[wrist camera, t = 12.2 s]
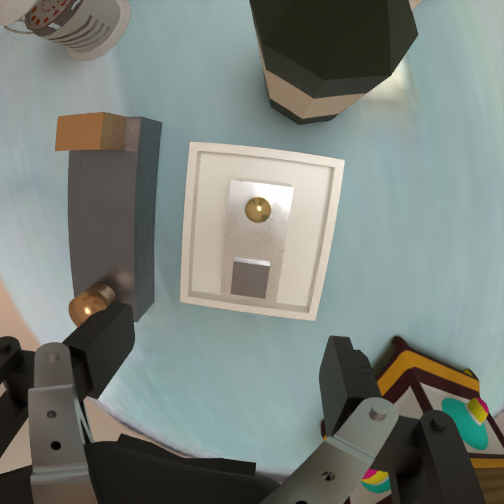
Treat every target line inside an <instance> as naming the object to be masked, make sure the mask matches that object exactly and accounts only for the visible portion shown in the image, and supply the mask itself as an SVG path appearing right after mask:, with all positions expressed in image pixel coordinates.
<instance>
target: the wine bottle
mask: <svg viewBox="0 0 504 504" xmlns="http://www.w3.org/2000/svg"><path fill="white" fill-rule="evenodd" d="M249 1H250V6H251V11H252V16H253V20H254V25H255V30H256V35H257V40H258V46H259V51H260V56H261V62H262V67H263V72H264V78H265V82H266V86H267V91H268V95H269V99H270V104H271V107H272V108H274V109H275V110H277V111H279V112H280V113H282V114H283V115H285V116H286V117H288V118H290V119H291V120H293V121H294V122H296V123H297V124H299V125H301V124H307V123H314V122H321V121H328V120H332V119H333V118H335V117H336V116H337V115H338V114H340V113H341V112H342V111H344V110H345V109H346V108H348V107H349V106H350V105H352V104H353V103H354V102H356V101H357V100H358V99H360V98H361V97H362V96H364V95H365V94H366V93H368V92H369V91H370V90H372V89H373V88H374V87H376V86H377V85H379V84H380V83H381V82H383V81H384V80H386V79H387V78H388V77H390V76H391V75H392V73H393V72H394V70H395V69H396V67H397V66H398V64H399V63H400V61H401V60H402V58H403V57H404V55H405V54H406V52H407V51H408V49H409V48H410V46H411V45H412V43H413V42H414V40H415V39H416V37H417V36H418V32H417V28H416V24H415V20H414V17H413V13H412V10H411V6H410V3H409V0H249Z"/></svg>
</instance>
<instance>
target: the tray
mask: <svg viewBox="0 0 504 504" xmlns="http://www.w3.org/2000/svg"><path fill="white" fill-rule="evenodd" d="M344 162H345V160H341V159H335V158H330V157H324V156H318V155H311V154H305V153H298V152H291V151H284V150H276V149H268V148H259V147H250V146H240V145H230V144H218V143H204V142H190V147H189V156H188V167H187V178H186V191H185V204H184V219H183V237H182V258H181V290H180V302H184V303H190V304H196V305H202V306H208V307H214V308H221V309H227V310H234V311H241V312H248V313H255V314H262V315H270V316H277V317H285V318H294V319H302V320H311V321H315V320H316V316H317V311H318V307H319V302H320V298H321V293H322V289H323V284H324V279H325V274H326V270H327V265H328V259H329V254H330V249H331V244H332V238H333V233H334V227H335V221H336V215H337V209H338V203H339V197H340V190H341V184H342V177H343V170H344ZM237 177H240V178H249V179H257V180H265V181H273V182H281V183H288V184H291V185H292V187H293V193H292V200H291V207H290V214H289V221H288V228H287V235H286V242H285V249H284V255H283V262H282V268H281V275H280V281H279V287H278V294H277V300H276V302H268V301H261V300H253V299H246V298H239V297H232V296H226V295H220V287H221V275H222V263H223V252H224V241H225V230H226V219H227V209H228V199H229V190H230V180H232V179H235V178H237Z"/></svg>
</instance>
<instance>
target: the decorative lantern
mask: <svg viewBox="0 0 504 504" xmlns="http://www.w3.org/2000/svg"><path fill="white" fill-rule="evenodd" d="M393 347H394V355H393V357H392V359H391V360H390V362H389V363H388V364H387V366H386V367H385V368H384V369H383V370H382V372H381V373H380V374H379V375H378V376H377V377H376V381H377V384H378V387H379V389H380V392H381V395H382V398H383V399H385V400H387V401H389V402H391V403H392V404H393V405H394V406H395V407H396V408H397V410H398V413H399V415H401V416H405V417H410V418H415V419H420V418H421V417H422V415H423V414H424V413H425V412H426V411H429V410H440V411H443V412H445V413H447V414H448V415H450V416H451V417H452V418H453V420H454V422H455V424H456V426H457V428H458V431H459V433H460V435H461V438H462V440H463V442H464V445H465V447H466V450H467V452H468V455H469V457H470V460H471V462H472V465H473V467H474V470H475V473H476V475H477V478H478V481H479V484H480V487H481V490H482V492H483V495H484V498H485V502H486V504H504V436H503V434H502V433H501V431H500V429H499V428H498V426H497V424H496V423H495V421H494V419H493V418H492V416H491V415H490V413H489V410H488V407H487V404H486V403H485V402H484V401H483V400H482V399H481V398H480V391H479V380H478V378H477V377H476V375H475V374H474V373H473V372H472V371H471V370H469V369H466V370H464V372H462V371H460V370H457V369H455V368H453V367H451V366H448V365H446V364H444V363H442V362H440V361H437V360H435V359H433V358H431V357H428V356H426V355H424V354H422V353H420V352H417V351H416V350H414V349H412V348H411V347H409V346H408V344H407V343H406V342H405V341H404V340H403V339H402V338H401V337H395V338H394V339H393ZM321 435H322V438H323V440H325V439H326V438H327V436H326V428H325V420H323V421H322V424H321ZM343 504H393V500H392V494H391V487H390V481H389V475H388V472H382V471H377V470H372V469H368V470H367V472H366V473H365V475H364V476H363V478H362V479H361V481H360V482H359V483H358V485H357V486H356V488H355V489H354V490H353V492H352V493H351V494H350V496H349V497H348V498H347V500H346V501H345V502H344V503H343Z"/></svg>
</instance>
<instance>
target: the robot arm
mask: <svg viewBox="0 0 504 504" xmlns="http://www.w3.org/2000/svg"><path fill="white" fill-rule="evenodd" d="M134 342H135V332H134V320H133V309H132V306H131V305H130V304H125V303H120V302H116V301H114V302H112V303H111V304H110V305H109V306H108V307H107V308H106V309H105V310H100V311H98V312H96V313H94V314H92V315H91V316H89V317H88V318H87V319H86V320H85V322H83V323H82V324H81V325H80V326H79V327H78V328H77V329H76V330H75V331H74V332H72V333H71V334H70V335H69V336H68V337H67V338H66V339H65V340H64V341H63V342H62V343H58V342H51V343H47V344H44V345H42V346H41V347H39V348H38V349H37V351H36V352H33V351H26V350H22V349H21V346H20V343H19V341H18V340H17V339H16V338H14V337H10V336H5V337H1V338H0V384H1V383H2V382H3V384H4V386H5V388H6V391H5V392H4V393H3V395H2V396H1V397H0V458H1V456H2V455H3V453H4V452H5V450H6V449H7V447H8V446H9V444H10V443H11V441H12V440H13V438H14V437H15V435H16V434H17V432H18V431H19V430H20V428H21V427H22V425H23V424H24V422H25V421H26V420H27V418H28V417H29V435H30V448H31V457H32V465H29V466H26V467H23V468H19V469H16V470H13V471H10V472H6V473H3V474H0V504H343V503H344V502H345V501H346V500H347V498H348V497H349V496H350V494H351V493H352V492H353V490H354V489H355V488H356V486H357V485H358V483H359V482H360V481H361V479H362V478H363V476H364V475H365V473H366V472H367V470H368V469H372V470H377V471H382V472H388V475H389V481H390V487H391V494H392V500H393V504H486V502H485V498H484V495H483V492H482V490H481V487H480V484H479V481H478V478H477V475H476V473H475V470H474V467H473V465H472V462H471V460H470V457H469V455H468V452H467V450H466V447H465V445H464V442H463V440H462V438H461V435H460V433H459V431H458V428H457V426H456V424H455V422H454V420H453V418H452V417H451V416H450V415H448V414H447V413H445V412H443V411H440V410H429V411H426V412H425V413H424V414H423V415H422V417H421V418H420V419H415V418H410V417H405V416H401V415H399V413H398V410H397V408H396V407H395V406H394V405H393V404H392V403H391V402H389V401H387V400H385V399H383V398H382V395H381V392H380V389H379V387H378V384H377V381H376V378H375V376H374V373H373V370H372V368H371V365H370V363H369V360H368V358H367V357H366V356H365V355H364V354H363V353H362V352H361V351H360V350H354V349H353V346H352V343H351V341H350V338H349V337H342V336H330V337H329V339H328V342H327V346H326V349H325V353H324V356H323V360H322V363H321V367H320V372H319V384H320V391H321V398H322V405H323V413H324V420H325V428H326V436H327V438H326V439H325V440H324V442H323V443H322V444H321V445H320V446H319V447H318V448H317V449H316V450H315V451H314V452H313V453H312V454H311V455H310V456H309V457H308V458H307V459H306V460H305V462H304V463H303V464H302V465H301V466H300V467H298V468H297V469H296V470H295V471H294V472H293V473H292V474H291V475H290V476H289V477H288V478H287V479H286V480H285V481H284V482H283V483H282V484H280V483H278V482H277V481H275V480H273V479H272V478H270V477H267V476H265V475H263V474H260V473H257V472H255V469H256V463H253V462H245V461H237V460H230V459H224V458H182V457H180V456H178V455H175V454H173V453H171V452H169V451H167V450H165V449H163V448H161V447H159V446H157V445H155V444H153V443H151V442H148V441H144V440H141V439H137V438H134V437H130V436H128V435H125V434H121V435H120V437H119V439H118V441H100V442H94V440H93V436H92V432H91V428H90V424H89V420H88V415H87V411H86V406H85V403H84V399H85V398H86V396H89V397H92V398H94V399H98V398H99V397H100V395H101V394H102V392H103V391H104V389H105V388H106V386H107V385H108V383H109V382H110V381H111V379H112V378H113V376H114V375H115V373H116V372H117V370H118V369H119V368H120V366H121V365H122V363H123V362H124V361H125V359H126V358H127V356H128V355H129V353H130V352H131V351H132V349H133V346H134Z"/></svg>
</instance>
